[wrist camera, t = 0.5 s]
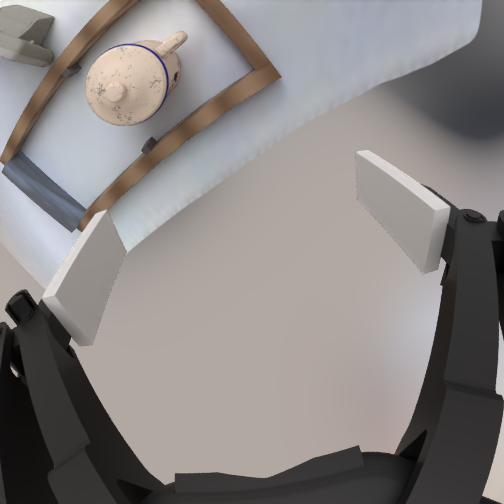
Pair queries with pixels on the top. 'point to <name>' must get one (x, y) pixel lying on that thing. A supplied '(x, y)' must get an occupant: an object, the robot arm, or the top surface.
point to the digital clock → (24, 35)
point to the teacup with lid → (133, 80)
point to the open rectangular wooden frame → (153, 152)
